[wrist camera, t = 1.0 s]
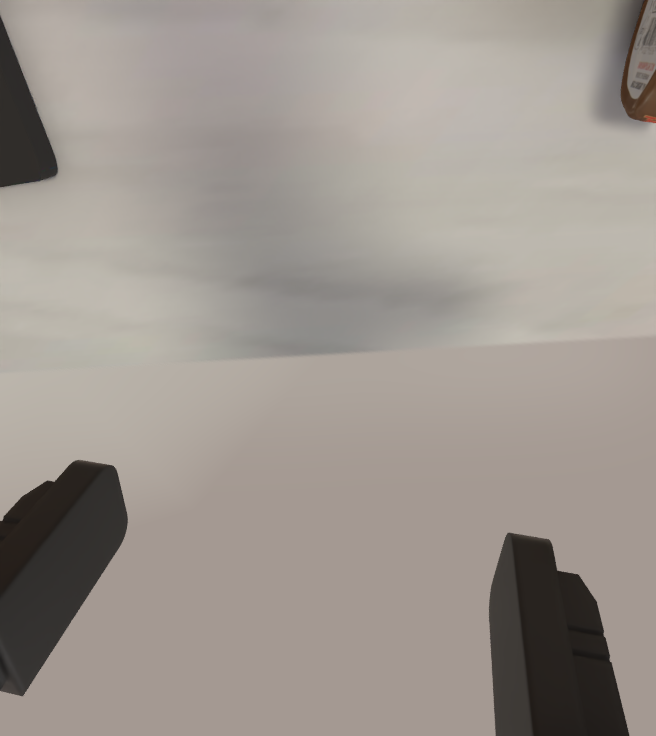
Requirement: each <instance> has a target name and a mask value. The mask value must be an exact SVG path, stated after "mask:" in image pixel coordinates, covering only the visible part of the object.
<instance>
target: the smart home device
mask: <svg viewBox="0 0 656 736" xmlns="http://www.w3.org/2000/svg"><path fill="white" fill-rule="evenodd" d="M56 174H57V164H56V160H55V157H54V154H53V151H52V149H51V146H50V144H49V141H48V138H47V136H46V133H45V131H44V128H43V126H42V123H41V120H40V118H39V115H38V113H37V110H36V108H35V105H34V103H33V100H32V97H31V95H30V92H29V90H28V87H27V85H26V82H25V79H24V77H23V74H22V72H21V69H20V67H19V64H18V62H17V59H16V56H15V54H14V51H13V49H12V46H11V44H10V41H9V38H8V36H7V33H6V31H5V28H4V26H3V23H2V21H1V18H0V187H5V186H11V185H17V184H23V183H29V182H35V181H40V180H43V179H46V178H49V177H52V176H55V175H56Z"/></svg>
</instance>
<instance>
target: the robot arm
mask: <svg viewBox="0 0 656 736" xmlns="http://www.w3.org/2000/svg"><path fill="white" fill-rule="evenodd" d="M127 523H128V518H127V512H126V507H125V503H124V499H123V495H122V490H121V486H120V482H119V477H118V473H117V470H116V469H115V467H114V466H112V465H107V464H101V463H95V462H88V461H83V460H77V461H74V462H73V463H71V464H70V465H69V466H68V467H67V468H66V470H65V471H64V472H63V473H62V474H61V475H60V476H59V477H58V479H57V480H56V481H55V482H52V481H46V482H44V483H43V484H41V485H40V486H38V487H37V488H35V489H33V490H32V491H30V492H29V493H27V494H25V495H24V496H22V497H21V498H20V500H19V501H18V502H17V503H16V504H15V505H14V506H13V507H12V508H11V509H10V510H9V511H8V513H7V514H6V515H5V516H4V519H3V521H0V691H3V692H7V693H11V694H15V695H20V696H23V695H24V694H25V692H26V691H27V689H28V687H29V686H30V684H31V683H32V681H33V679H34V678H35V676H36V675H37V673H38V672H39V670H40V669H41V667H42V666H43V664H44V663H45V661H46V660H47V658H48V657H49V655H50V653H51V652H52V650H53V649H54V647H55V646H56V644H57V643H58V641H59V640H60V638H61V636H62V635H63V633H64V632H65V630H66V628H67V627H68V626H69V624H70V623H71V620H72V619H73V618H74V616H75V615H76V613H77V612H78V610H79V609H80V607H81V605H82V604H83V602H84V601H85V599H86V598H87V596H88V595H89V593H90V592H91V590H92V589H93V587H94V585H95V584H96V582H97V581H98V579H99V578H100V576H101V574H102V573H103V572H104V570H105V568H106V567H107V565H108V564H109V562H110V561H111V559H112V558H113V556H114V555H115V553H116V552H117V550H118V548H119V547H120V545H121V543H122V541H123V539H124V536H125V533H126V529H127ZM489 622H490V640H491V658H492V675H493V693H494V712H495V729H496V736H629V732H628V728H627V724H626V720H625V716H624V712H623V708H622V703H621V699H620V695H619V691H618V688H617V683H616V679H615V675H614V671H613V667H612V663H611V662H610V660H609V658H610V655H609V650H608V646H607V642H606V638H605V637H604V635H603V633H604V630H603V626H602V622H601V618H600V614H599V610H598V606H597V602H596V600H595V599H594V597H593V596H592V594H591V593H590V591H589V590H588V588H587V587H586V585H585V584H584V582H583V581H582V579H581V578H580V576H579V575H578V574H573V573H567V572H561V571H557V568H556V562H555V557H554V551H553V547H552V544H551V542H550V540H549V539H543V538H537V537H531V536H525V535H519V534H513V533H508V534H507V535H506V537H505V540H504V544H503V547H502V551H501V554H500V557H499V561H498V565H497V568H496V571H495V575H494V578H493V582H492V586H491V592H490V602H489Z"/></svg>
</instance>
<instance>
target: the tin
mask: <svg viewBox="0 0 656 736" xmlns="http://www.w3.org/2000/svg"><path fill="white" fill-rule="evenodd" d="M621 101H622V104H623V107H624V108H625V110H626V113H627V114H628V116H629V117H630V118H632V119H635V120H640V121H644V122H652V123H656V0H644V3H643V6H642V9H641V12H640V15H639V18H638V21H637V24H636V28H635V31H634V34H633V37H632V41H631V44H630V48H629V52H628V55H627V59H626V63H625V68H624V72H623V78H622V86H621Z"/></svg>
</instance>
